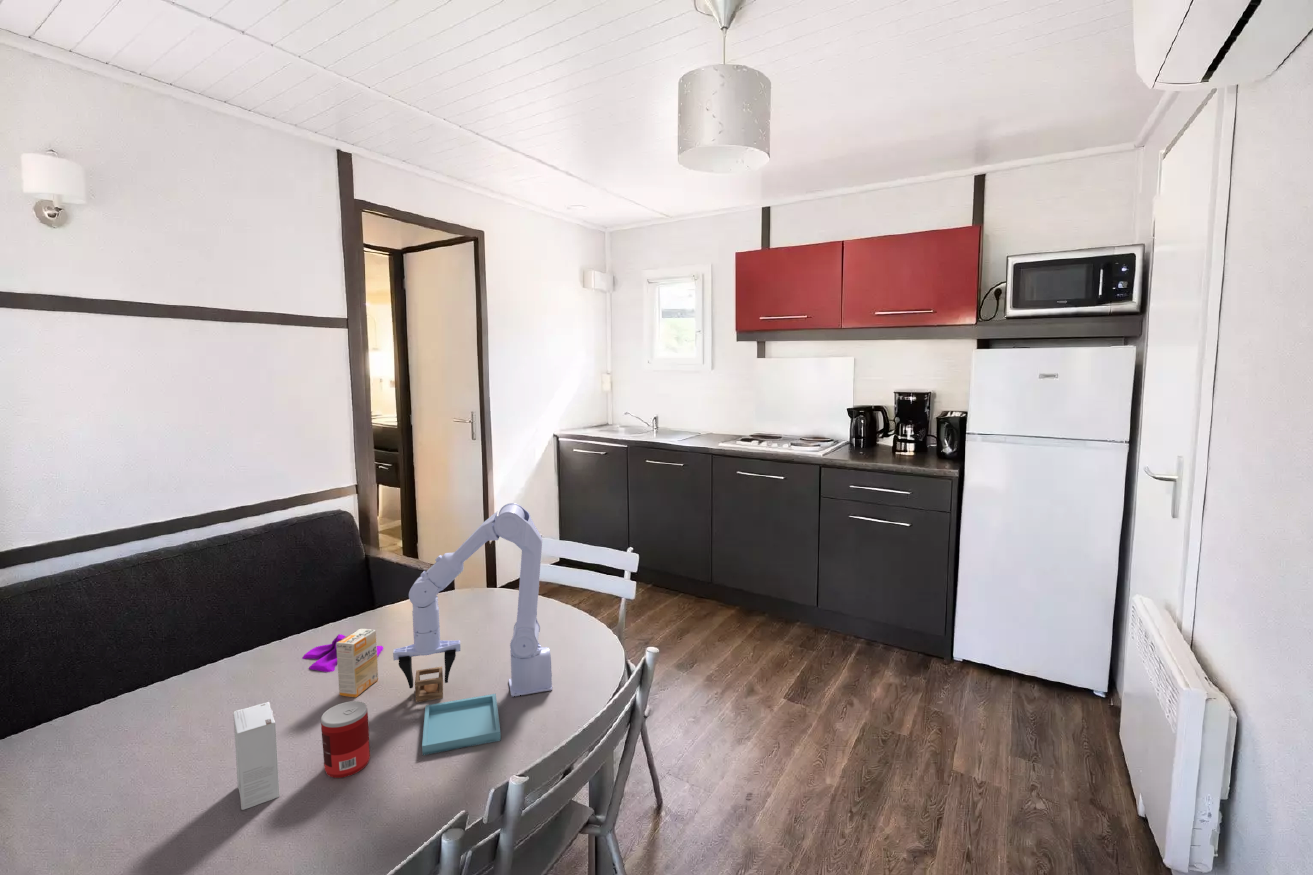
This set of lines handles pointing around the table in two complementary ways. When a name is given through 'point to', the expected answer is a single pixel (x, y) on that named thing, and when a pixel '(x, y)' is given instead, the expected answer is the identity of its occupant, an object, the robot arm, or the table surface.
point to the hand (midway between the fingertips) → (429, 683)
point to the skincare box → (256, 755)
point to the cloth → (327, 655)
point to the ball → (431, 688)
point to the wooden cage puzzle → (419, 684)
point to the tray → (460, 724)
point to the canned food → (345, 739)
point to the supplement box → (357, 662)
